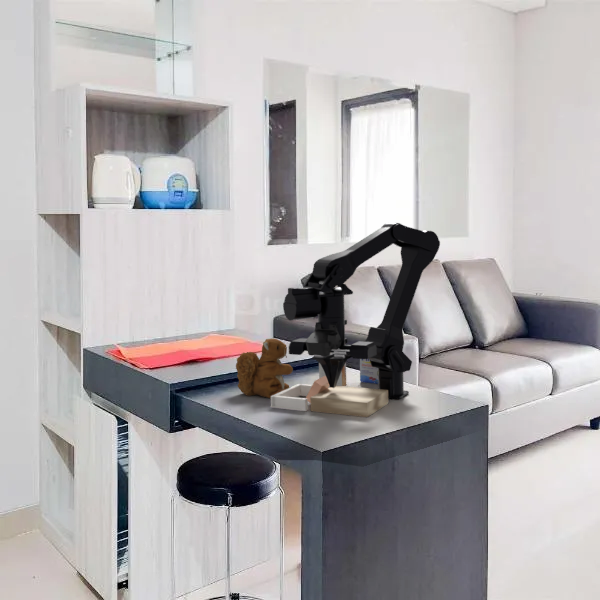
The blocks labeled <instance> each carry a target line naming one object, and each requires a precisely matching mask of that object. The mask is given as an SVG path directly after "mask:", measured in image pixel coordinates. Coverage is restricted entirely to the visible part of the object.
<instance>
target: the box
mask: <svg viewBox="0 0 600 600" xmlns="http://www.w3.org/2000/svg"><path fill="white" fill-rule="evenodd" d="M312 385H313V384H305V383H297V384H295V385H293V386H289V388H288V389H286V390H283V391H281V392H279V393H277V394H275V395H272V396H271V398H270V408H273V409H280V410H281V409H282V410H291V411H299V412H300V411H301V412H307V411H308V410H309V409H308V404H309V402H308V401H307V399H306V396H307V395H308V393H309V391H310V389H311V387H312ZM328 388H330V387H328ZM300 396H303V397H300ZM304 397H305V398H304Z"/></svg>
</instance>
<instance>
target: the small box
mask: <svg viewBox="0 0 600 600" xmlns="http://www.w3.org/2000/svg"><path fill="white" fill-rule="evenodd" d="M345 345H347V343H346V344H345ZM330 353H332V352H330ZM323 376H326V375H325V372H324V370H323V368H322V366H321V364H320V363H319V362H318V377H319V378H321V377H323ZM319 378H318V379H319ZM346 385H347V362H346V363H345V365H344V367H343V369H342V371H341V374H340V376H339V379H338V382H337V384H336V386H346ZM329 387H330V385H329Z"/></svg>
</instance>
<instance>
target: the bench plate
mask: <svg viewBox="0 0 600 600" xmlns="http://www.w3.org/2000/svg"><path fill="white" fill-rule="evenodd" d="M310 399H311V403H310V411H311V412H315V413H316V412H317V413H327V414H334V415H343V416H345V415H346V416H353V417H360V418H361V417H363V418H369V417H370V416H371V415H373V414H375V413H376V412H378V411H379V410H380V409H382V408H384V407H385V406H387V405H388V404H389V398H388V390H382V389H378V388H367V387H358V386H357V387H356V386H348V385H347V386H346V385H345V386H336V387H334V388H331V387H330V388H328V389H326V390H324V391H322V392H320V393H318V394H316V395H314V396H312V397H310Z"/></svg>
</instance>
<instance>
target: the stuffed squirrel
mask: <svg viewBox="0 0 600 600" xmlns="http://www.w3.org/2000/svg"><path fill="white" fill-rule="evenodd" d="M287 348H288V347H287V344H285V342H283V341H281V340H280V339H278V338H274V337H272V338H266V339H265V341H263V343H262V346H261V354H260V355H261V356H260V357H258V354H257V353H256V352H252V351H249V352H247V351H246V352H242V353H241V354H240V355H239V356H238V357H237V358H236V364H235V370H236V371H237V375H236V376H237V379H238V384H237V387H238V389H239V390H240V392H241V393H243V394H244V395H245V396H248V397H251V396H260V397H262V398H268V399H271V396H272V395H275V394H277V393H279V392H281V391H283V390H286V389H288V388H290V385H289V384H288V383H286V382H285V380H284V376H288V375H290V374H292V373H293V371H294V368H293V366H291V364H290V363H289V364H288V363H282V361H281V360H282V359H283V358H286V359H287V358H288V356H287V353H288V352H287V351H288V349H287Z"/></svg>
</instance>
